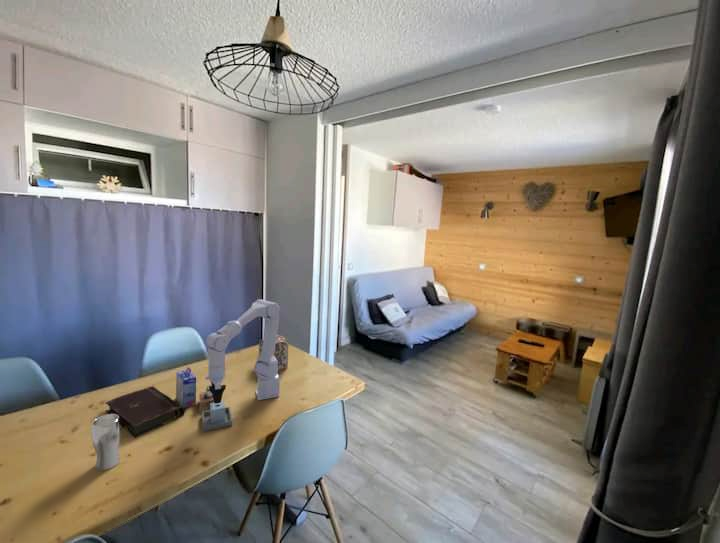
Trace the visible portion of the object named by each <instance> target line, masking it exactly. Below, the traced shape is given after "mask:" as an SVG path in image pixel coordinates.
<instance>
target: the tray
mask: <svg viewBox="0 0 720 543" xmlns="http://www.w3.org/2000/svg"><path fill="white" fill-rule="evenodd" d="M201 418H202V419H201V420H202V422H201V423H202V433H205V432H210V431H215V430H218V429H223V428H228V427H232V426H233V417H232V412H231V406H227V407H226V406H225V422H220V423H216V424H211V420H210V410H206V411H201Z"/></svg>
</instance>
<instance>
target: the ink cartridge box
mask: <svg viewBox="0 0 720 543" xmlns="http://www.w3.org/2000/svg"><path fill="white" fill-rule="evenodd" d="M175 374H176V375H175V380H176V382H175V385H176V386H175V399H176V400H177V403H178V404H179V405H181V406H183V407H184V408H188V407H190V406H195V405H197V376H195V374H194V373H193V372H192V370H191V368H190V367H189V366H188V367H187V368H186V369H185V370H181V371H177V372H175Z"/></svg>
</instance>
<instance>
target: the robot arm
mask: <svg viewBox="0 0 720 543" xmlns="http://www.w3.org/2000/svg"><path fill="white" fill-rule="evenodd" d="M280 310H281V307H280V305H278V303H277V302H272V301H268V300H264V299H262V298H258V299H257V300H255V301H254V302H253V303H252V304H251V307H250V308H248V309H247V310H246V311H245V312H244V313H243V314H242V315H241V316H240V317H239V318H237V319H236V320H229V321H228V322H227V323H226V324H225V325H224V326H223V327H222V328H220V329H218V330H217V331H216V332H212V333H210V334H209V335H208V336H207V337H206V339H205V341H204V345H205V347H206V348H207V352H208V374H207V375H205V376H204V377H205V378H204V379H205V380H208V381H210V385H212V386H209V385H208V386H209V390H210V392H211V393H212V395H213V400H214V403H215V404H216V403H221V401H222V399H223V394H224V392H225V390H226V387H227V384H222V383H223V381H224V380H225V378H226V349H228V346H229V343H230V342H231V341H232V340H233V339H234V338H235V337H236V336H237V335H239V334H240V333H241V332H242V330H243V329H242V328H243V327H245V326H246V325H247V324H248V323H250V322H251V321H253V320H254V319H256V318H257V317H258V318H261V317H263V319H265V321H266V322H265V328H264V335H263V338H264V340H263V347H262V354H261V356H259V355H258V357H256V361H255V364H254V366H253V370H254V372H255V374H256V376H257V389H256V390H255V391H254V392H255V395H256V398H257V400H258V401H261V400H267V399H271V398H272V399H273V398H278V397H280V383H281V382H280V376H279V373H278V372H279V370H278V361H277V359H276V358H275V356H274V352H275V345H276V338H277V334H278V330H279V329H278V328H279V324H280V323H279V322H280Z"/></svg>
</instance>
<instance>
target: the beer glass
mask: <svg viewBox="0 0 720 543" xmlns="http://www.w3.org/2000/svg"><path fill="white" fill-rule="evenodd" d="M120 439H121V425H120V421H119V416H118V415H117V414H108V413H107V414H103V415H101V416H98V417H96V418H95V419H93V421H92V422H91V440H92V445H93V448H94V451H95V454H96V463H95V469H96V470H97V471H102V472H103V471H109V470H110V469H112V468H114V467H116V466H117V465H118V464H119V463H120V462H121V456H120V453H119V445H120Z"/></svg>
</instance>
